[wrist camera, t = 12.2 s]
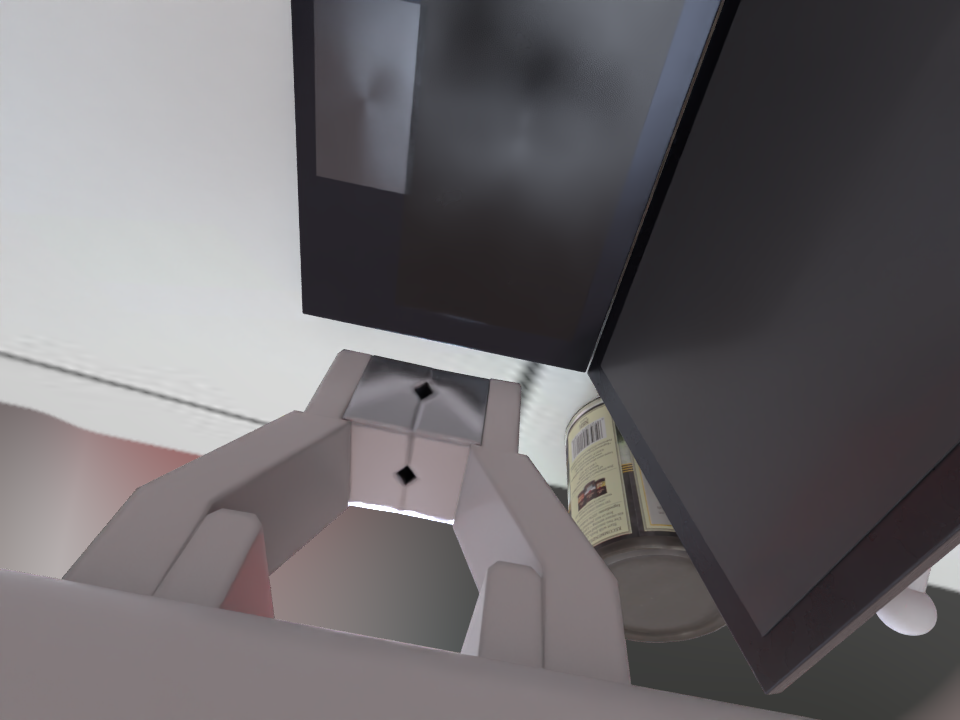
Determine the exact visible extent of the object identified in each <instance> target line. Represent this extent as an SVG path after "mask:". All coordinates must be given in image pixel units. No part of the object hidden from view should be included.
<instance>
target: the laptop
mask: <svg viewBox="0 0 960 720" xmlns="http://www.w3.org/2000/svg"><path fill="white" fill-rule="evenodd" d="M721 1H722V0H291V13H292V40H293V67H294V94H295V121H296V148H297V174H298V201H299V228H300V255H301V282H302V309H303V314H308V315H313V316H318V317H322V318H327V319H332V320H337V321H341V322H346V323H351V324H356V325H360V326H365V327H370V328H375V329H380V330H384V331H389V332H394V333H399V334H403V335H408V336H413V337H418V338H422V339H427V340H432V341H437V342H441V343H446V344H451V345H456V346H461V347H465V348H470V349H475V350H480V351H484V352H489V353H494V354H499V355H503V356H508V357H513V358H518V359H522V360H527V361H532V362H537V363H542V364H546V365H551V366H556V367H561V368H565V369H570V370H575V371H580V372H586V370H587V367H588V364H589V361H590V359H591V356H592V353H593V350H594V348H595V345H596V342H597V340H598V337H599V334H600V331H601V329H602V326H603V323H604V320H605V318H606V315H607V312H608V310H609V307H610V304H611V301H612V299H613V296H614V293H615V290H616V288H617V285H618V282H619V279H620V277H621V274H622V271H623V269H624V266H625V263H626V260H627V258H628V255H629V252H630V249H631V247H632V244H633V241H634V239H635V236H636V233H637V230H638V228H639V225H640V222H641V219H642V217H643V214H644V211H645V208H646V206H647V203H648V200H649V198H650V195H651V192H652V189H653V187H654V184H655V181H656V178H657V176H658V173H659V170H660V168H661V165H662V162H663V159H664V157H665V154H666V151H667V148H668V146H669V143H670V140H671V137H672V135H673V132H674V129H675V127H676V124H677V121H678V118H679V116H680V113H681V110H682V107H683V105H684V102H685V99H686V97H687V94H688V91H689V88H690V86H691V83H692V80H693V77H694V75H695V72H696V69H697V67H698V64H699V61H700V58H701V56H702V53H703V50H704V47H705V45H706V42H707V39H708V36H709V34H710V31H711V28H712V26H713V23H714V20H715V17H716V15H717V12H718V9H719V6H720V4H721Z"/></svg>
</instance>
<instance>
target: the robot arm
mask: <svg viewBox="0 0 960 720" xmlns="http://www.w3.org/2000/svg"><path fill="white" fill-rule="evenodd" d="M520 404H521V386H520V384H519V383H515V382H509V381H503V380H497V379H485V378H480V377H475V376H470V375H465V374H459V373H454V372H449V371H444V370H438V369H433V368H430V367H426V366H421V365H417V364H412V363H408V362H403V361H398V360H394V359H389V358H385V357H380V356H376V355H374V356H372V355H370V354H365V353H360V352H355V351H350V350H345V349H344V350H342V351H341V352H339V353H338V354H337V356H336V358H335V359H334V361H333V363H332V365H331V366H330V368H329V370H328V371H327V373H326V375H325V377H324V378H323V380H322V382H321V383H320V385H319V387H318V389H317V390H316V392H315V394H314V396H313V397H312V399H311V401H310V402H309V404H308V406H307V408H306V409H305V411H304V412H301V411H295V410H294V411H292V412H290V413H288V414H286V415H284V416H282V417H280V418H278V419H276V420H274V421H272V422H270V423H268V424H266V425H264V426H262V427H260V428H258V429H256V430H254V431H252V432H250V433H248V434H246V435H244V436H242V437H240V438H238V439H236V440H234V441H232V442H230V443H228V444H226V445H224V446H222V447H219V448H217V449H215V450H213V451H211V452H209V453H207V454H205V455H203V456H201V457H199V458H197V459H195V460H193V461H191V462H189V463H187V464H185V465H184V466H181V467H179V468H177V469H175V470H173V471H171V472H169V473H167V474H165V475H163V476H161V477H159V478H157V479H155V480H153V481H151V482H149V483H147V484H145V485H143V486H141V487H139V488H137V489H136V490H135V491H134V492H133V494H132V495H131V496H130V497H129V498H128V500H127V501H126V502H125V503H124V504H123V506H122V507H121V508H120V509H119V510H118V512H117V513H116V514H115V515H114V516H113V518H112V519H111V520H110V521H109V522H108V524H107V525H106V526H105V527H104V528H103V530H102V531H101V532H100V533H99V534H98V536H97V537H96V538H95V539H94V540H93V541H92V543H91V544H90V545H89V546H88V547H87V549H86V550H85V551H84V552H83V554H82V555H81V556H80V557H79V558H78V559H77V561H76V562H75V563H74V564H73V565H72V567H71V568H70V569H69V570H68V571H67V573H66V574H65V575H64V576H63V577H62V579H57V578H52V577H46V576H41V575H35V574H31V573H25V572H20V571H14V570H9V569H3V568H0V720H818V719H812V718H807V717H802V716H796V715H791V714H785V713H780V712H774V711H769V710H763V709H758V708H753V707H748V706H742V705H736V704H732V703H726V702H721V701H715V700H710V699H705V698H698V697H694V696H688V695H683V694H677V693H672V692H667V691H661V690H656V689H650V688H645V687H639V686H635V685H631V680H630V673H629V665H628V657H627V651H626V643H625V634H624V627H623V619H622V611H621V604H620V596H619V589H618V581H617V579H616V578H615V577H614V575H613V574H612V572H611V571H610V570H609V568H608V567H607V566H606V564H605V563H604V561H603V560H602V559H601V557H600V556H599V554H598V553H597V552H596V550H595V549H594V547H593V546H592V545H591V543H590V542H589V541H588V539H587V538H586V536H585V535H584V534H583V532H582V531H581V529H580V528H579V527H578V525H577V524H576V522H575V521H574V520H573V518H572V517H571V515H570V514H569V513H568V511H567V510H566V509H565V507H564V506H563V505H562V503H561V502H560V500H559V499H558V497H557V496H556V495H555V494H554V492H553V491H552V489H551V488H550V486H549V485H548V484H547V482H546V481H545V479H544V478H543V477H542V475H541V474H540V472H539V471H538V470H537V468H536V467H535V465H534V464H533V463H532V461H531V460H530V459H529V457H528V456H527V455H523V454H518V446H519V425H520ZM349 505H354V506H360V507H367V508H373V509H379V510H385V511H391V512H397V513H403V514H407V515H412V516H416V517H421V518H426V519H430V520H435V521H439V522H444V523H448V524H453V529H454V531H455V534H456V536H457V539H458V541H459V544H460V546H461V549H462V551H463V554H464V556H465V558H466V561H467V563H468V566H469V568H470V571H471V573H472V576H473V578H474V580H475V583H476V585H477V588H478V590H479V593H480V595H479V597H478V600H477V604H476V607H475V610H474V613H473V616H472V619H471V622H470V625H469V629H468V631H467V635H466V638H465V641H464V644H463V647H462V650H461V653H457V652H452V651H446V650H441V649H436V648H430V647H425V646H419V645H414V644H409V643H403V642H398V641H393V640H387V639H382V638H376V637H371V636H365V635H360V634H355V633H349V632H344V631H338V630H333V629H327V628H322V627H317V626H311V625H306V624H300V623H295V622H290V621H284V620H279V619H275V617H274V610H273V602H272V595H271V587H270V580H269V576H270V575H271V574H272V573H273V572H274V571H276V570H277V569H278V568H279V567H280V566H281V565H282V564H283V563H285V562H286V561H287V560H288V559H289V558H291V557H292V556H293V555H294V554H295V553H296V552H297V551H299V550H300V549H301V548H302V547H303V546H305V545H306V544H307V543H308V542H309V541H310V540H312V539H313V538H314V537H315V536H316V535H317V534H319V533H320V532H321V531H322V530H323V529H324V528H326V527H327V526H328V525H329V524H330V523H331V522H332V521H334V520H335V519H336V518H337V517H338V516H340V515H341V514H342V513H343V512H344V511H345V510H347V509H348V506H349Z"/></svg>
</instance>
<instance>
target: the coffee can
mask: <svg viewBox="0 0 960 720" xmlns="http://www.w3.org/2000/svg"><path fill="white" fill-rule="evenodd" d="M565 447H566V461H567V484H568V510H569V514H570V515H571V517H572V518H573V520H574V521H575V522H576V524H577V525H578V527H579V528H580V529H581V531H582V532H583V534H584V535H585V536H586V538H587V539H588V541H589V542H590V543H591V545H592V546H593V547H594V549H595V550H596V552H597V553H598V554H599V556H600V557H601V559H602V560H603V561H604V563H605V564H606V566H607V567H608V568H609V570H610V571H611V572H612V574H613V575H614V577H615V578H616V579H617V581H618V589H619V596H620V604H621V611H622V619H623V627H624V634H625V639H627V640H633V641H640V642H655V643H659V642H660V643H662V642H675V641H683V640H689V639H693V638H697V637H701V636H704V635H707V634H709V633H712V632H714V631H716V630H719V629H720V628H722V627H724V626H726V625H727V624H726V622H725V620H724V619H723V617H722V615H721V613H720V611H719V610H718V608H717V606H716V604H715V602H714V601H713V599H712V597H711V595H710V593H709V592H708V590H707V588H706V586H705V584H704V583H703V581H702V579H701V577H700V575H699V574H698V572H697V570H696V568H695V566H694V565H693V563H692V561H691V559H690V557H689V556H688V554H687V552H686V550H685V548H684V547H683V545H682V543H681V541H680V539H679V538H678V536H677V534H676V532H675V530H674V529H673V527H672V525H671V523H670V521H669V519H668V518H667V516H666V514H665V512H664V510H663V509H662V507H661V505H660V503H659V501H658V500H657V498H656V496H655V494H654V492H653V491H652V489H651V487H650V485H649V483H648V482H647V480H646V478H645V476H644V474H643V473H642V471H641V469H640V467H639V465H638V464H637V462H636V460H635V458H634V456H633V455H632V453H631V451H630V449H629V447H628V446H627V444H626V442H625V440H624V438H623V437H622V435H621V433H620V431H619V429H618V428H617V426H616V424H615V422H614V420H613V419H612V417H611V415H610V413H609V411H608V410H607V408H606V406H605V404H604V402H603V401H602V399H601V398H598V399H596V400H594V401H593V402H591V403H589V404H588V405H586V406H585V407H583V408H582V409H581V410H580V411H578V412H577V414H576V415H575V416H574V417H573V418H572V420H571V421H570V423H569V425H568V427H567V430H566V435H565Z"/></svg>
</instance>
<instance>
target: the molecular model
mask: <svg viewBox="0 0 960 720" xmlns="http://www.w3.org/2000/svg"><path fill="white" fill-rule="evenodd" d="M930 570H931V568H929V569H928V570H927V571H926V572H925V573H923V574H922V575H921V576H920V577H919V578H918V579H916V580H915V581H914V582H913V583H912V584H910V585H909V586H908V587H907V588H906V589H904V590H903V591H902V592H901V593H900V594H898V595H897V596H896V597H895V598H894V599H892V600H891V601H890V602H889V603H888V604H886V605H885V606H884V607H883V608H882V609H880V610H879V611H878V612H877V615H878V616H879V618H880V619H881V620H882V621H883V622H884V623H885V624H886V625H887V626H888V627H890V628H891V629H893V630H895V631H897V632H899V633H902V634H906V635H922V634H925V633H927V632H928V631H930V630H931V629H932V628H933V627H934V625H935V623H936V620H937V611H936V608H935V605H934V603H933V602H932V600H931V598H930V597H929V596H928V595H927V594H926V593H925V591H926V587H927V583H928V578H929V574H930Z"/></svg>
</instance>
